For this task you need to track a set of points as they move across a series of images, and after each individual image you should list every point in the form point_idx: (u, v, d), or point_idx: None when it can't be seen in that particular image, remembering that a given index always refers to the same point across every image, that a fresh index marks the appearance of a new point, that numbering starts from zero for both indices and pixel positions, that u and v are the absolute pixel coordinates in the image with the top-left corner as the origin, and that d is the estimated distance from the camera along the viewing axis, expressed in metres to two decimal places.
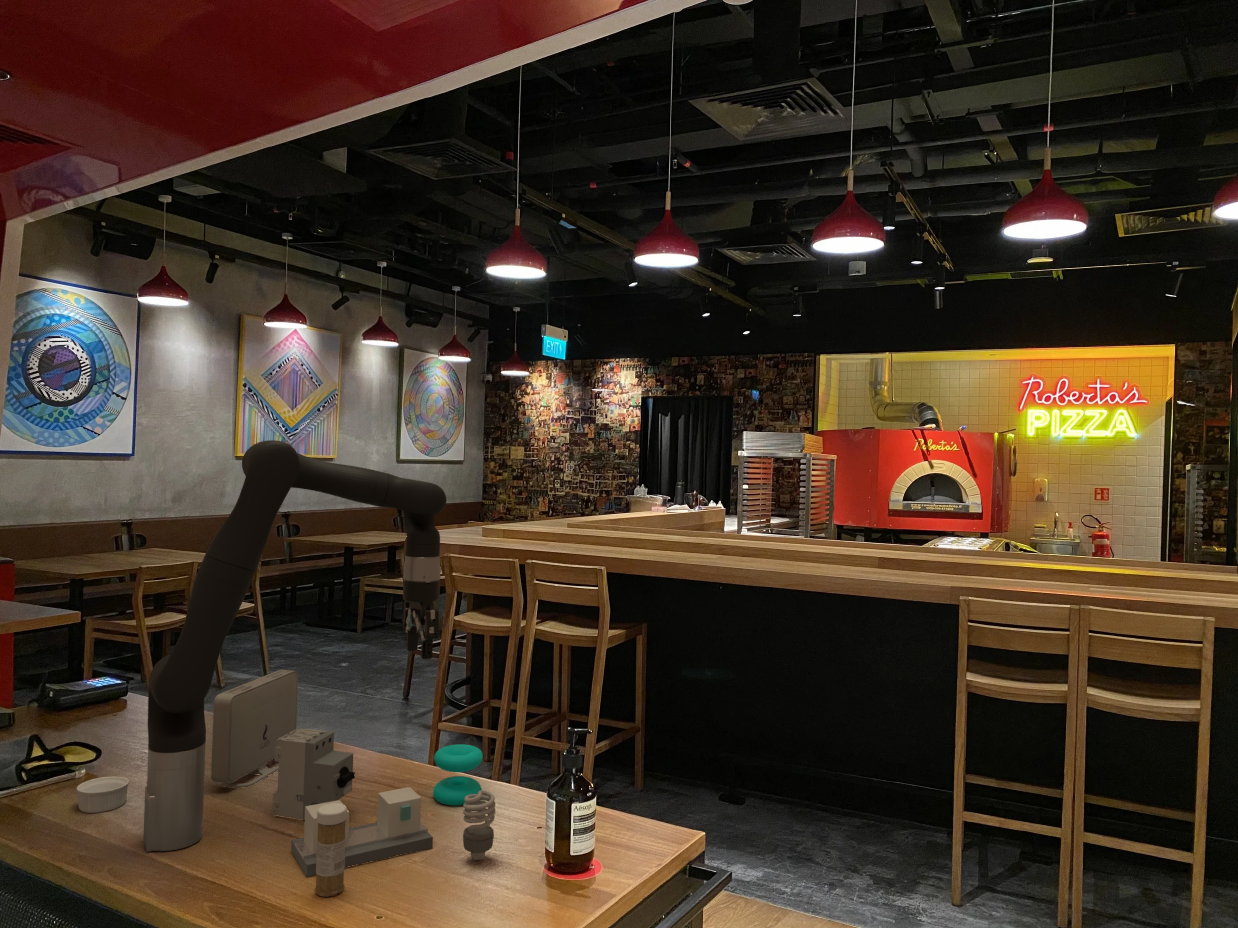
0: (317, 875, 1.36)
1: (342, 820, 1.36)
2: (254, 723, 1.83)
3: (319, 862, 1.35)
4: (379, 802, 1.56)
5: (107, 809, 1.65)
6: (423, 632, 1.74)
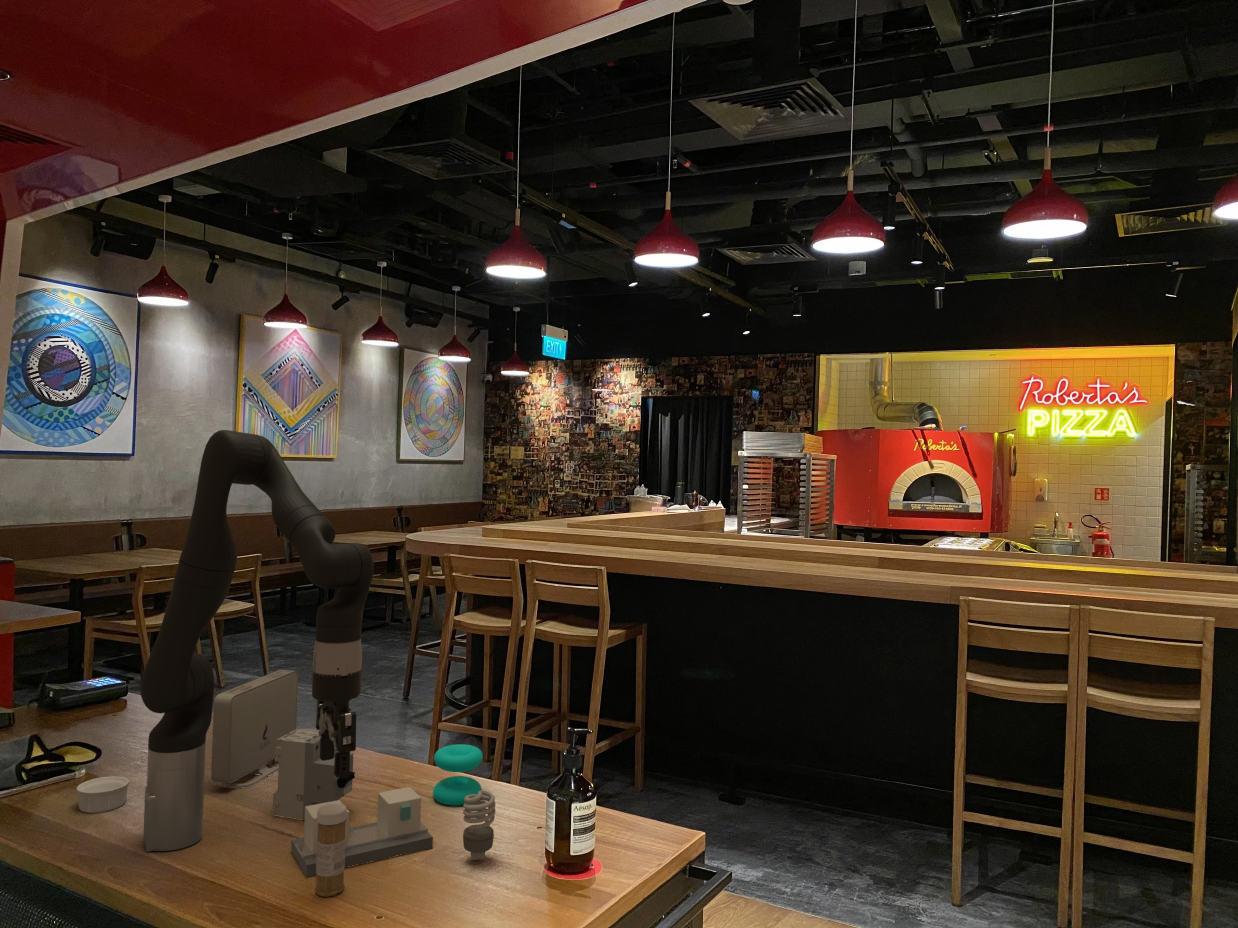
0: (317, 875, 1.36)
1: (342, 820, 1.36)
2: (254, 723, 1.83)
3: (319, 862, 1.35)
4: (379, 802, 1.56)
5: (107, 809, 1.65)
6: (337, 742, 1.33)
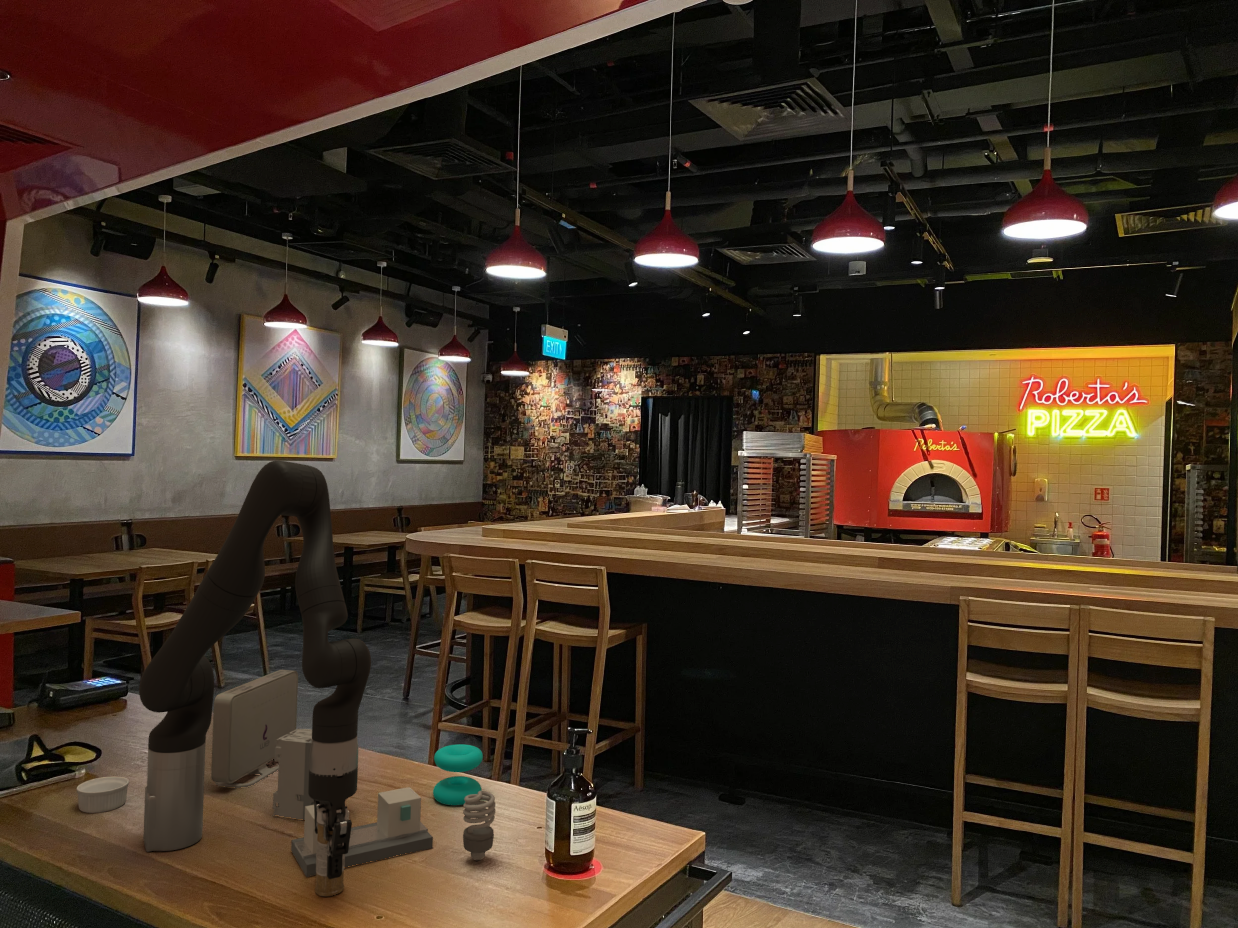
0: (317, 875, 1.36)
1: None
2: (254, 723, 1.83)
3: (319, 862, 1.35)
4: (379, 802, 1.56)
5: (107, 809, 1.65)
6: (330, 845, 1.34)
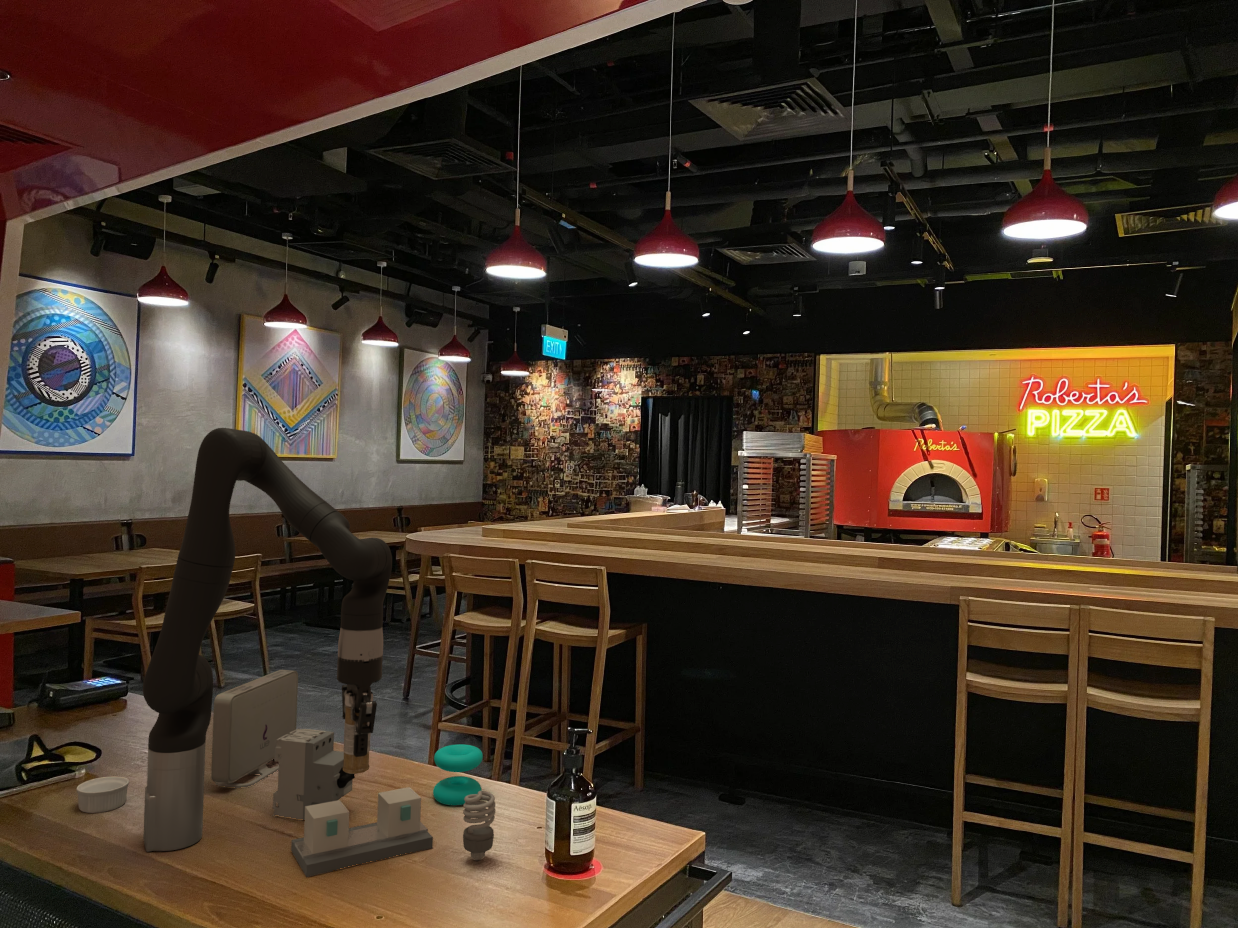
0: (345, 754, 1.46)
1: None
2: (254, 723, 1.83)
3: (347, 742, 1.46)
4: (379, 802, 1.56)
5: (107, 809, 1.65)
6: (356, 725, 1.45)
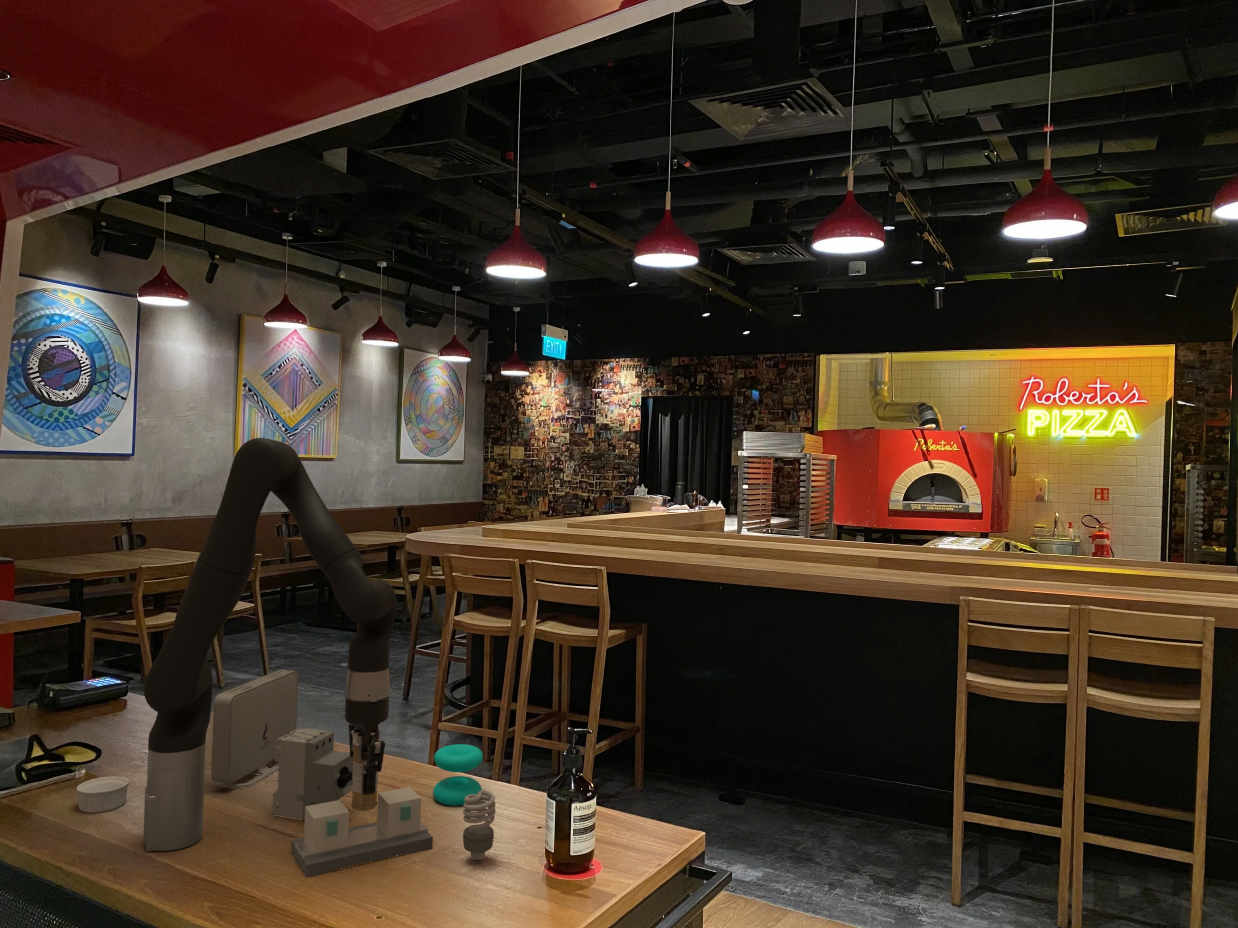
0: (353, 792, 1.51)
1: None
2: (254, 723, 1.83)
3: (356, 780, 1.50)
4: (379, 802, 1.56)
5: (107, 809, 1.65)
6: (365, 764, 1.49)
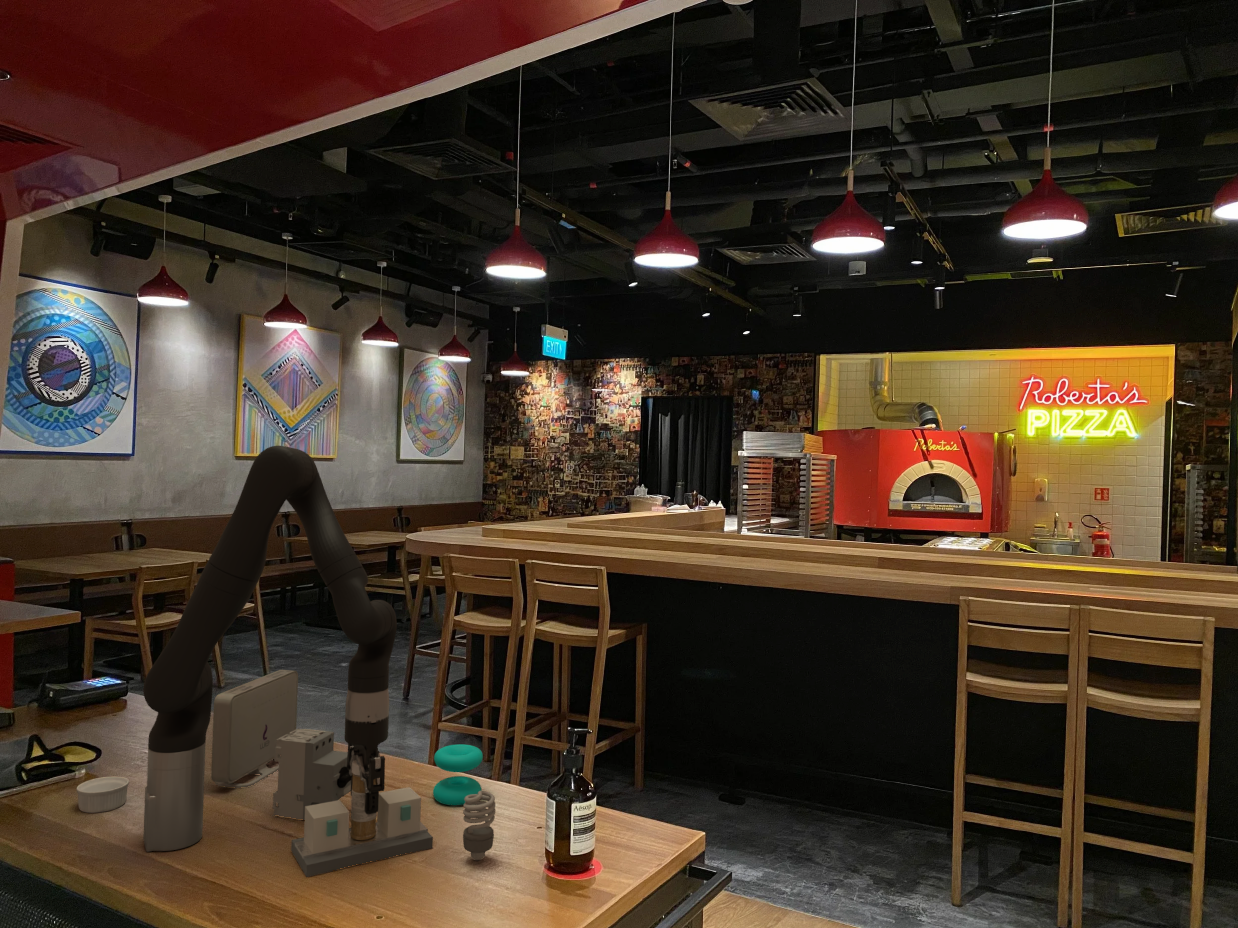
0: (352, 821, 1.50)
1: None
2: (254, 723, 1.83)
3: (355, 809, 1.50)
4: (379, 802, 1.56)
5: (107, 809, 1.65)
6: (367, 782, 1.48)
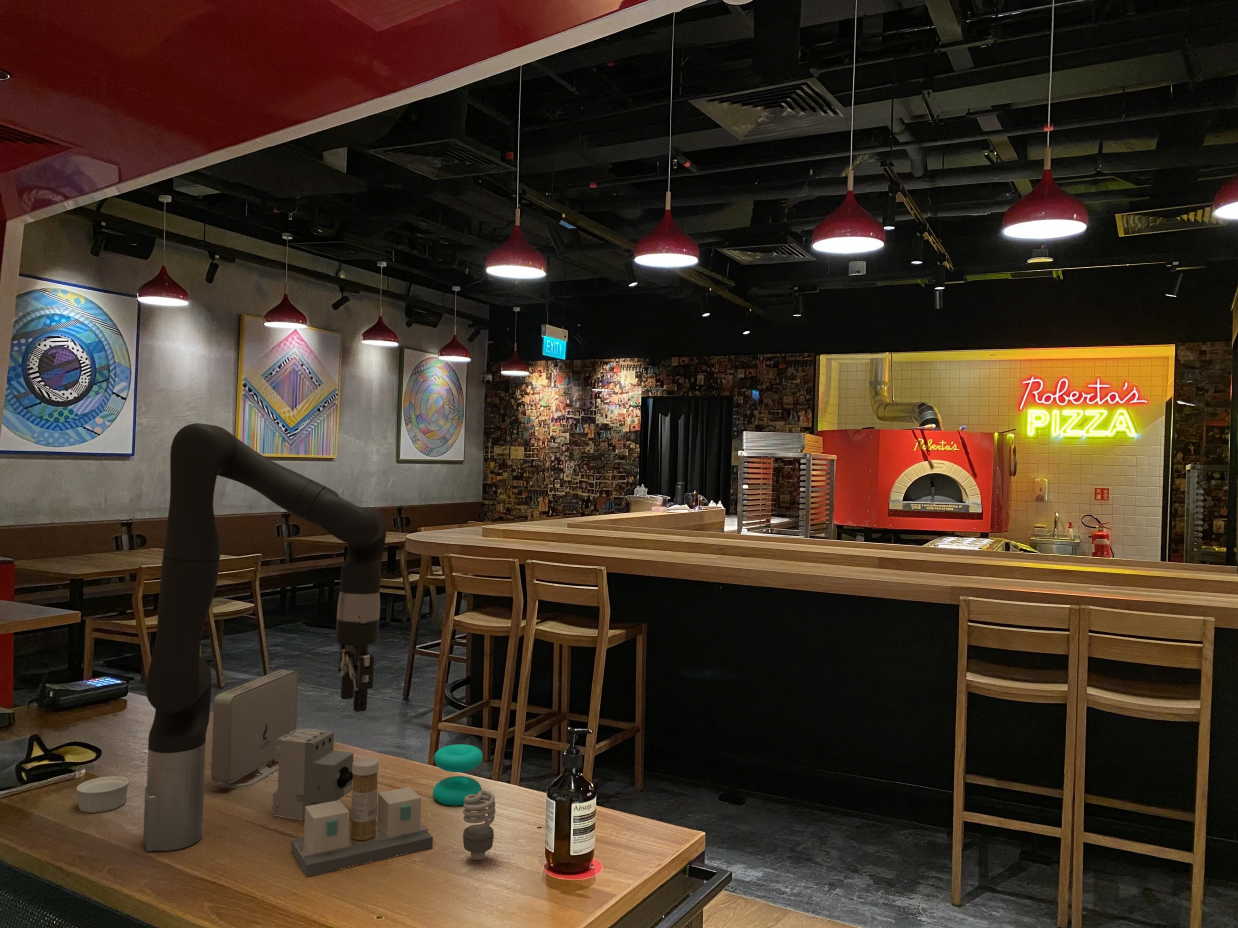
0: (352, 821, 1.50)
1: (375, 771, 1.51)
2: (254, 723, 1.83)
3: (355, 809, 1.50)
4: (379, 802, 1.56)
5: (107, 809, 1.65)
6: (356, 680, 1.51)
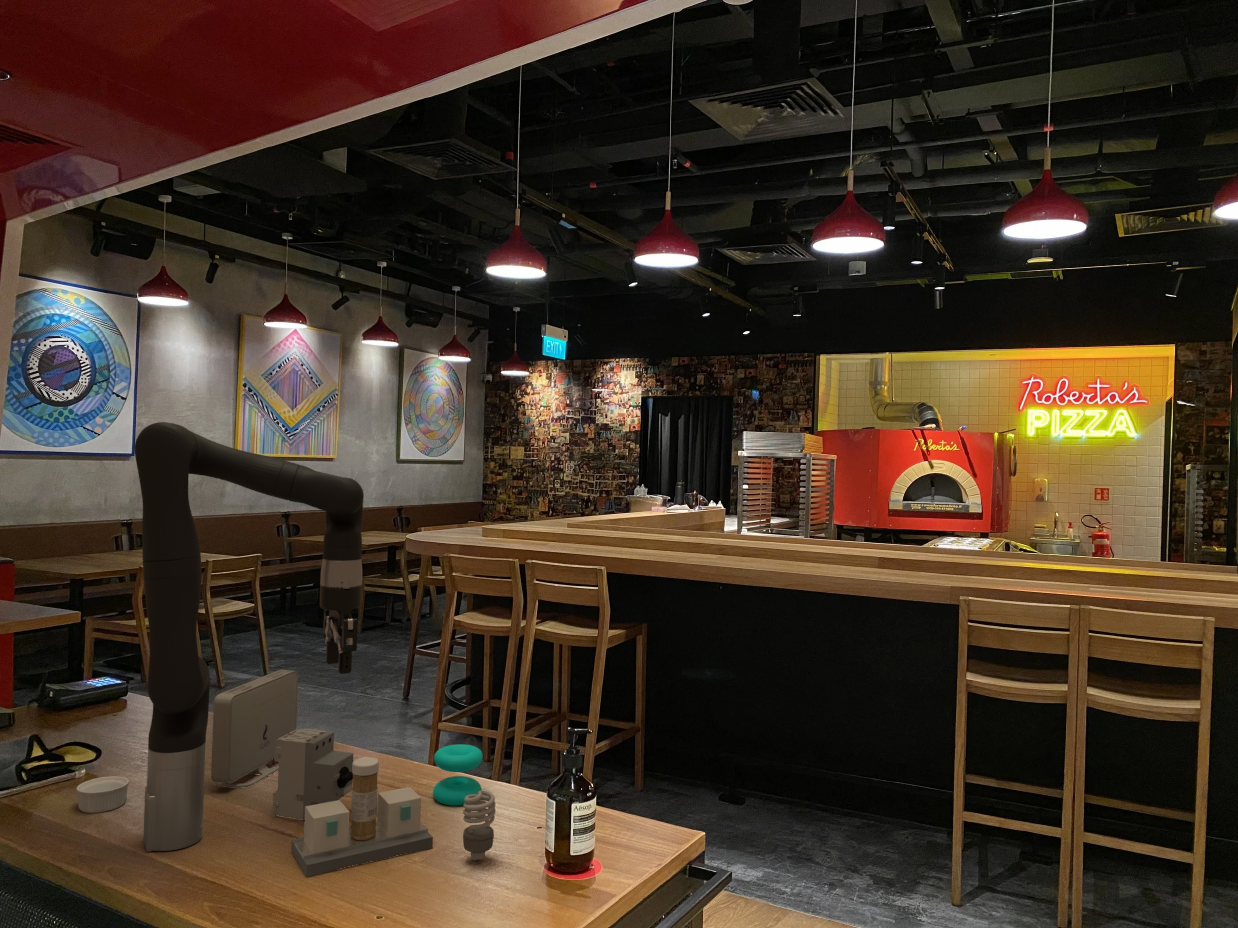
0: (352, 821, 1.50)
1: (375, 771, 1.51)
2: (254, 723, 1.83)
3: (355, 809, 1.50)
4: (379, 802, 1.56)
5: (107, 809, 1.65)
6: (340, 644, 1.57)
